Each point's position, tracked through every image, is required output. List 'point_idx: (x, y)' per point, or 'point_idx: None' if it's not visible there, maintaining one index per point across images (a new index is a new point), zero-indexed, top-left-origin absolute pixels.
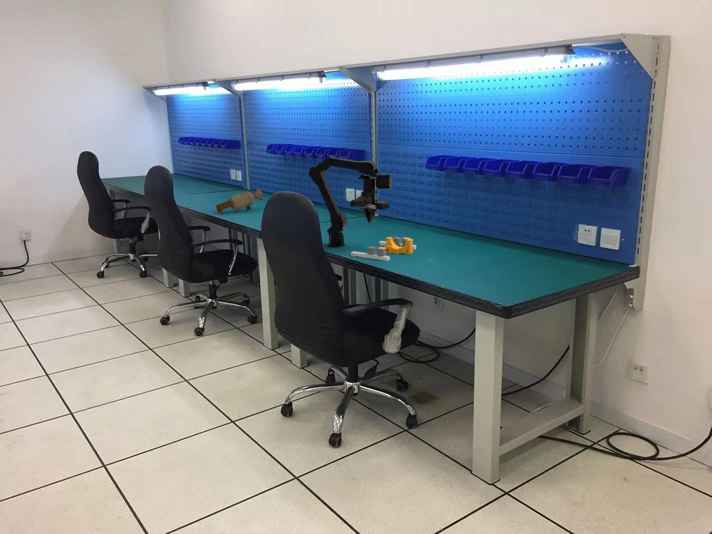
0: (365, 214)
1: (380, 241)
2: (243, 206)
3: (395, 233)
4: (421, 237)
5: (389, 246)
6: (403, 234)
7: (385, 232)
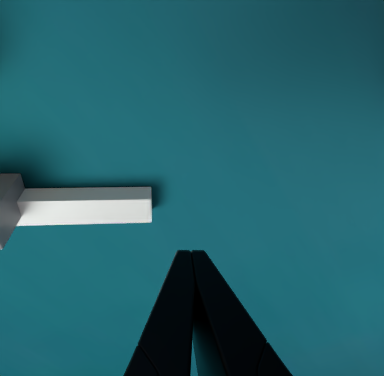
0: (284, 368)
1: (149, 211)
2: None
3: None
4: (68, 364)
5: None
6: None
7: None
